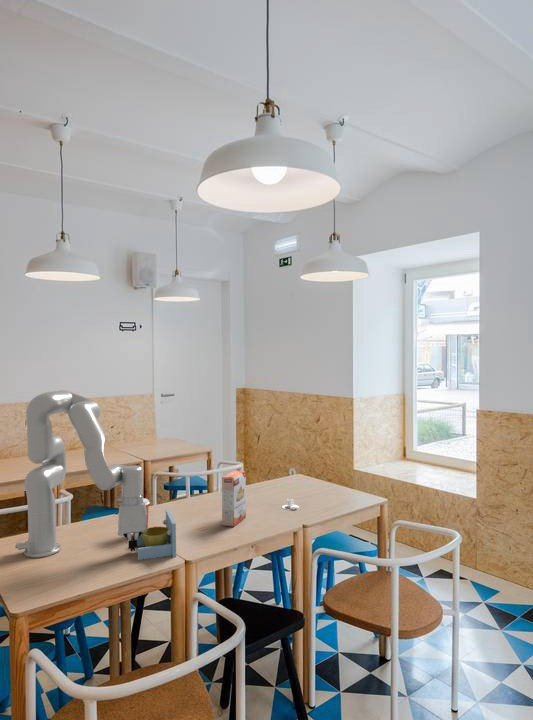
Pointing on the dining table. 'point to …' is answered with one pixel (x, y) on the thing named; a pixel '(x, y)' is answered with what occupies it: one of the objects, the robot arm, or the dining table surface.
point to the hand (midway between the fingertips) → (132, 549)
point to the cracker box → (233, 498)
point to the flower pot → (155, 536)
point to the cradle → (160, 549)
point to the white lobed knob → (290, 505)
